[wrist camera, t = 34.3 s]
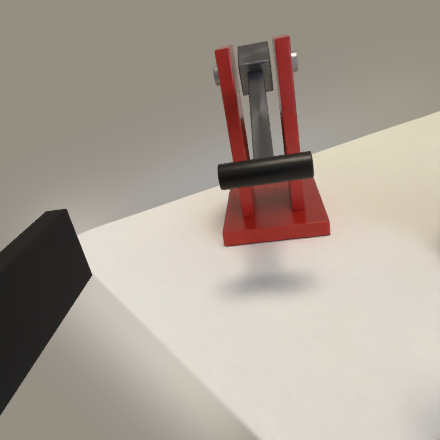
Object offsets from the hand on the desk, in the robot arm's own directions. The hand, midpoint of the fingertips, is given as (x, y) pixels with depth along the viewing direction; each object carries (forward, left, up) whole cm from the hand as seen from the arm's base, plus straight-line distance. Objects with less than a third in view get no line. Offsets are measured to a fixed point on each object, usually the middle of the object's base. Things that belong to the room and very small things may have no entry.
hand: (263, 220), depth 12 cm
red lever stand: (0, +19, -9) cm, 21 cm away
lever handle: (0, +15, 0) cm, 15 cm away
